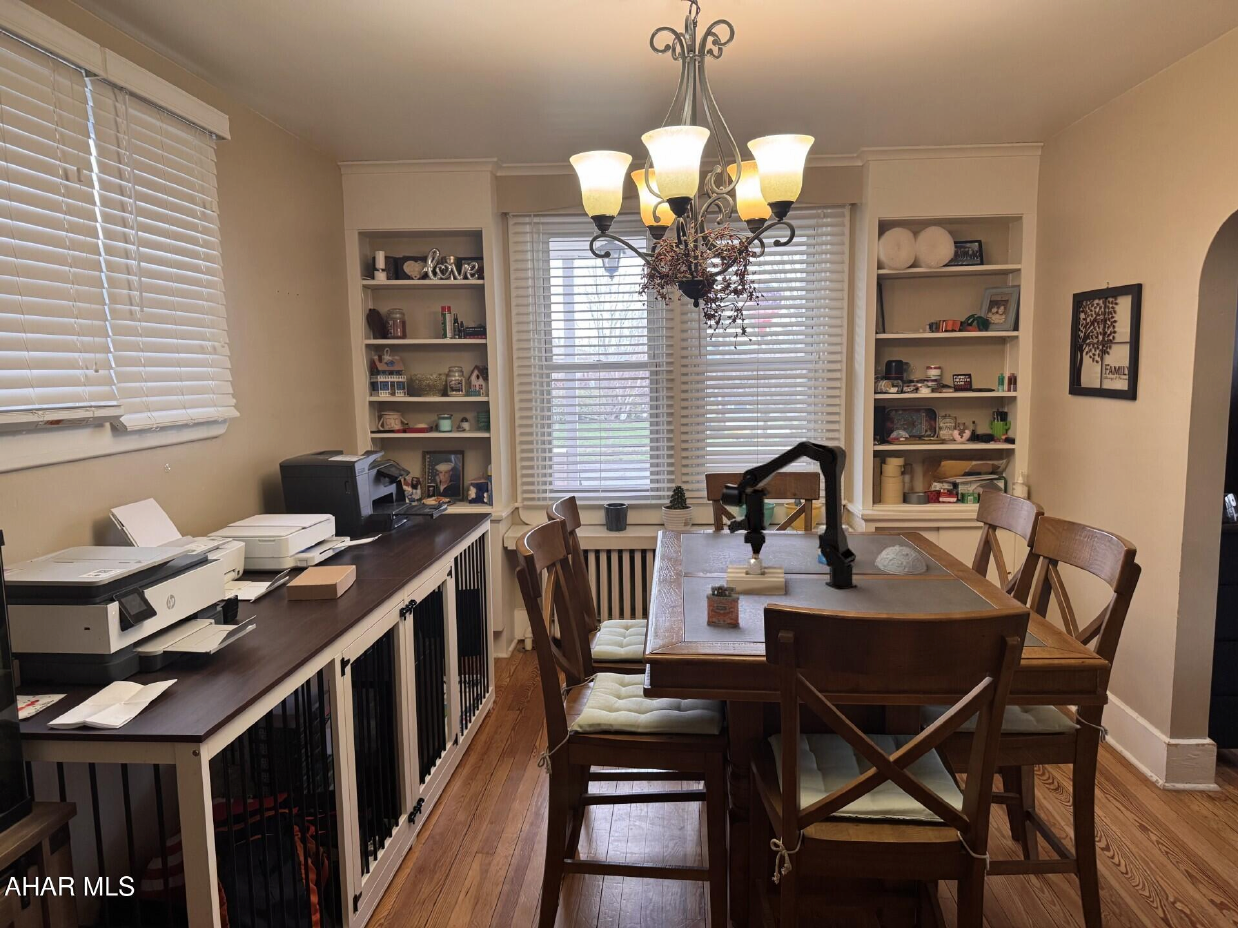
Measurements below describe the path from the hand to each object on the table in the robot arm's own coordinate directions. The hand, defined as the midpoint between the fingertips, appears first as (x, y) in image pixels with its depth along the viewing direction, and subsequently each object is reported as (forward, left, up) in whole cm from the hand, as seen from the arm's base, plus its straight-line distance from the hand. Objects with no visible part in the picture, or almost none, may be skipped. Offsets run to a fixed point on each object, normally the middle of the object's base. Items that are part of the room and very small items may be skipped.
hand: (755, 558), depth 241 cm
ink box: (+2, -29, -5) cm, 30 cm away
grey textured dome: (-11, -45, -5) cm, 47 cm away
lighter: (-41, +33, -5) cm, 53 cm away
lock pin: (-6, +4, 0) cm, 7 cm away
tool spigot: (-13, +8, -5) cm, 16 cm away
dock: (-13, +8, -5) cm, 16 cm away
